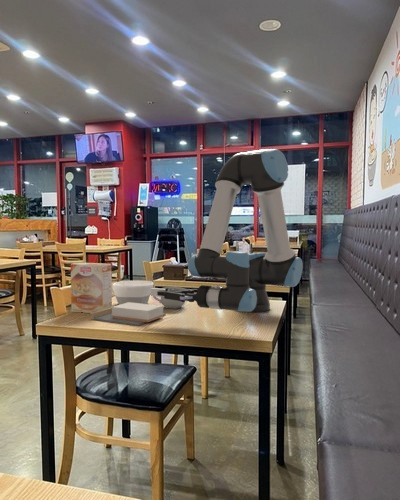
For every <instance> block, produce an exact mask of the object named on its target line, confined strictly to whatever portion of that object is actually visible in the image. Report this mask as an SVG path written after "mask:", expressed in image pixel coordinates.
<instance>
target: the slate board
mask: <svg viewBox="0 0 400 500" xmlns="http://www.w3.org/2000/svg"><path fill="white" fill-rule="evenodd" d="M112 307H113V306H112ZM112 307H110V308H107V309H103V310H100V311H96V312H93V313H90V320H91V321H99V322H107V323H115V324H121V325H128V326H129V325H130V326H135V327H139V326H141V325H145V324H147V323H148V322H143V321H135V320H127V319H120V318H112ZM165 316H166V313H163V317H165Z"/></svg>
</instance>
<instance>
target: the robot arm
mask: <svg viewBox="0 0 400 500" xmlns="http://www.w3.org/2000/svg"><path fill="white" fill-rule="evenodd" d="M288 178H289V164H288V162H287V159H286V156H285V154H284V153H283V152H282V151H280V150H279V149H277V148H273V149H272V148H270V149H269V148H265V149H259V150H258V149H257V150H251V151H241V152H238V153H235V154H234V155H232V156H231V157H230V158H229V159H228V160H227V161H226V162H225V163H224V165H223V166H222V167H221V169H220V171H219V172H218V175H217V177H216V181H215V184H214V187H215V189H216V190H215V194H214V197H213V201H212V205H211V208H210V211H209V215H208V219H207V222H206V225H205V228H204V232H203V236H202V239H201V242H200V246H199V249H198V253H197V254H193V255H192V256H190V258H189V260H188V262H187V268H188V272H189V274H190V275H191V276H193V277H199V278H202V279H203V278H207V279H217V280H225V286H220V284H217V286H214V285H213V286H211V285H207V284H206V285H205V284H202V285H200V286H199V287H198V288H191V289H190V288H185V289H176V288H174V289H169V290H168V288H165V287H164V288H165V289H162V288H158V287H153V288H151V294H150V297H153V296H156V297H157V298H158V297H159V298H161V297H164V298H165V299H170V300H176V301H181V302H185V303H186V302H189V303H194V302H196V305H197V306H198V307H199V308H205V309H214V310H226V311H235V312H238V313H239V312H240V313H241V312H245V313H259V312H267V311H269V310H270V309H271V303H270V300H269V296H268V293H267V289H266V288H267V286H276V287H283V288H287V287H288V288H289V287H290V288H294V287H297V285H298V284H299V283H300V282H301V281H300V280H301V278H302V275H303V268H304V267H303V265H304V264H303V259H302V258H301V257H298V256H296V251H295V250H294V249H293V248H291V245H290V239H289V233H288V227H287V221H286V215H285V208H284V202H283V197H282V196H283V195H282V189H283V187H284V186H285V181H287V180H288ZM245 185H250V186H251V191H252V193H255V194H256V196H257V201H258V206H259V212H260V217H261V221H262V222H261V223H262V227H263V233H264V238H265V243H266V249H267V251H266V252H256V253H248V252H247V251H243V250H239V251H237V250H236V251H235V250H233V251H232V250H231V251H227V252H226V254H225V256H222V255H221V253H222V249H223V246H224V242H225V239H226V234H227V232H228V227H229V223H230V220H231V217H232V212H233V209H234V205H235V200H236V198H237V195H239V194H240V192H241V189H242V187H243V186H245Z"/></svg>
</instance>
